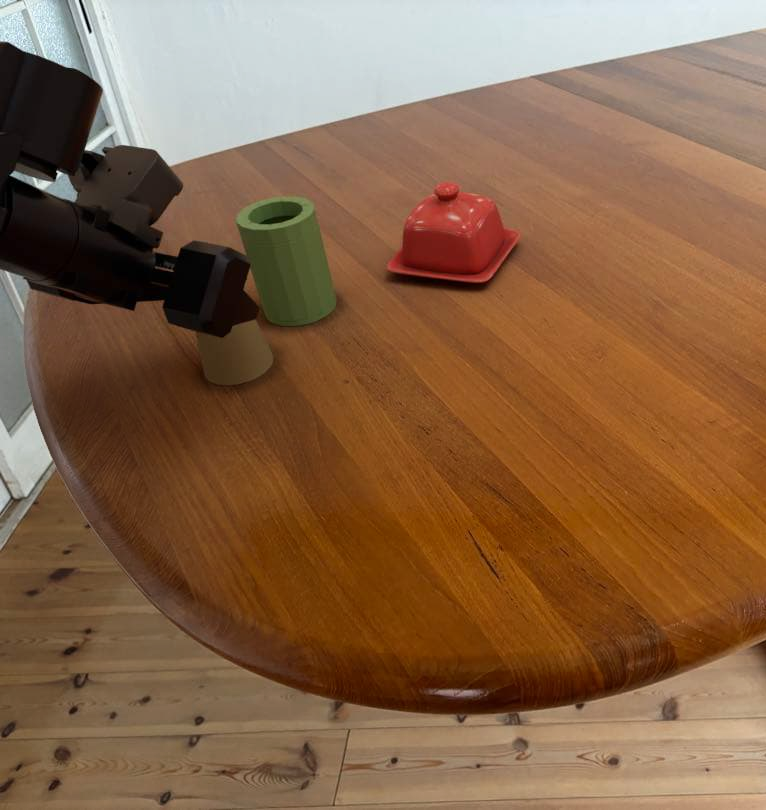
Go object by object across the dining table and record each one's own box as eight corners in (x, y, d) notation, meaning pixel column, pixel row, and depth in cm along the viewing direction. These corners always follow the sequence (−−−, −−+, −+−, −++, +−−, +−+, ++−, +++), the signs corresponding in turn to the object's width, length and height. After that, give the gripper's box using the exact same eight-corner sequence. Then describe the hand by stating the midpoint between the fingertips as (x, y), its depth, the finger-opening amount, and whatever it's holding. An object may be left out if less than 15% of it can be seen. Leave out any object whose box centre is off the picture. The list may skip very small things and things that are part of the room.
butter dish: (487, 294, 80) (478, 213, 75) (382, 281, 83) (367, 203, 78) (526, 241, 89) (520, 165, 83) (429, 231, 92) (418, 157, 87)
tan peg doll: (274, 341, 76) (240, 231, 69) (273, 377, 71) (238, 264, 64) (206, 353, 75) (165, 243, 68) (201, 391, 70) (157, 277, 63)
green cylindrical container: (265, 332, 77) (235, 234, 71) (264, 296, 82) (236, 203, 76) (339, 318, 78) (316, 221, 72) (334, 284, 83) (311, 191, 77)
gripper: (188, 138, 51) (331, 227, 66) (-11, 110, 58) (159, 197, 72) (136, 309, 50) (292, 360, 65) (-59, 261, 57) (122, 317, 72)
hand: (213, 303), depth 68 cm, fingers open, 9 cm apart
